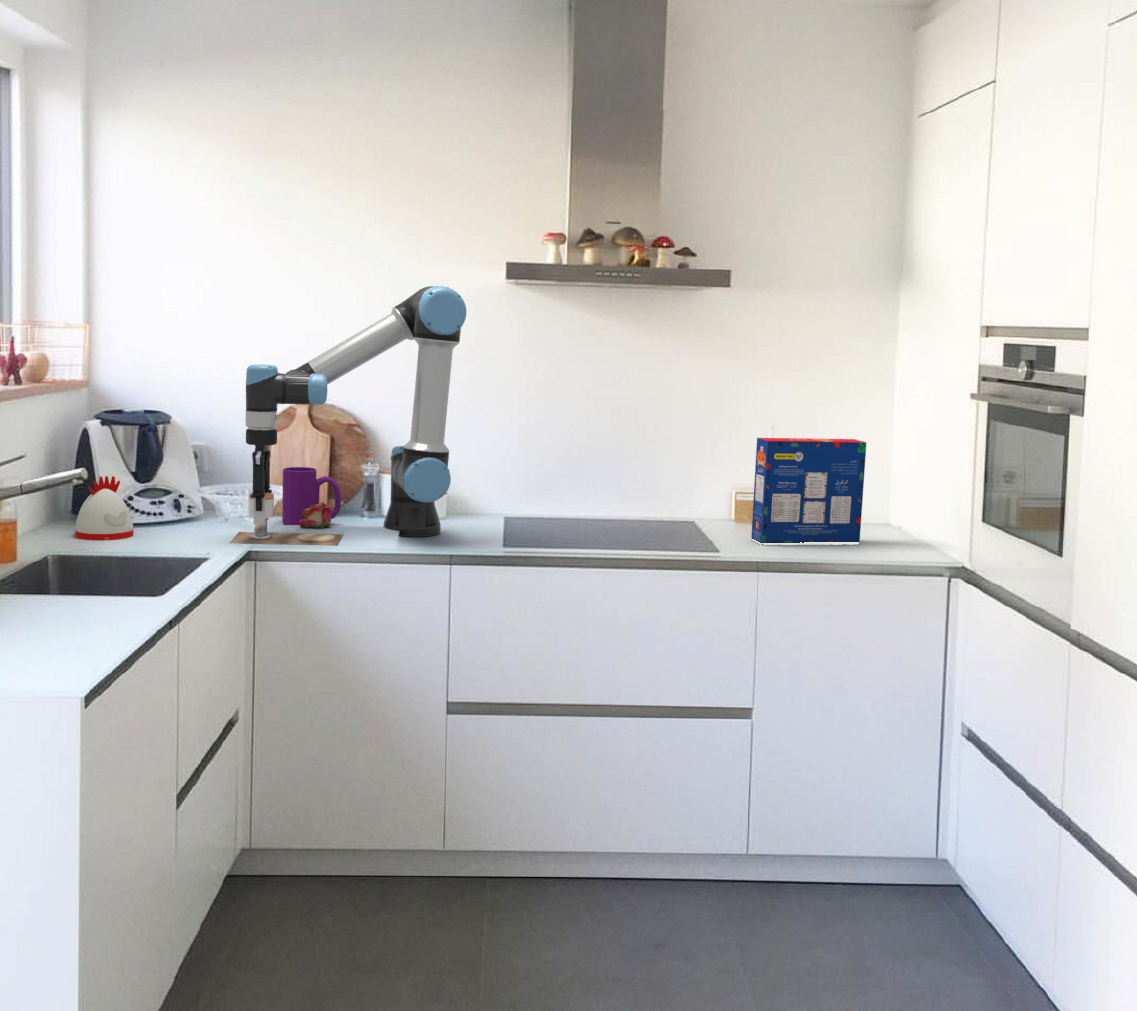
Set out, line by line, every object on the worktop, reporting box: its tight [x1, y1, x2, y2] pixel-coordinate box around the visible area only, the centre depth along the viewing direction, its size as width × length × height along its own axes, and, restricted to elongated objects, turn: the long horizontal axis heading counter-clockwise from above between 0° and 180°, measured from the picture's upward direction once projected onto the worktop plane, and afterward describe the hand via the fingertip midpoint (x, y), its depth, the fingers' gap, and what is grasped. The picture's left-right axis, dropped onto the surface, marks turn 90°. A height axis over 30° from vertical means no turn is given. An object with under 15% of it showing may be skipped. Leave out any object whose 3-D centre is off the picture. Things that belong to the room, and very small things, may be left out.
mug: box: [281, 466, 342, 526], centre depth 376 cm, size 9×16×15 cm, turn 97°
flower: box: [298, 502, 333, 529], centre depth 365 cm, size 10×9×8 cm
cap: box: [248, 492, 275, 519], centre depth 345 cm, size 6×6×6 cm
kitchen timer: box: [74, 475, 134, 541], centre depth 349 cm, size 14×14×15 cm
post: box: [251, 518, 271, 540], centre depth 345 cm, size 5×5×7 cm
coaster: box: [298, 533, 335, 542], centre depth 347 cm, size 9×9×1 cm
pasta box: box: [750, 437, 867, 543], centre depth 376 cm, size 28×8×28 cm, turn 103°
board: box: [229, 531, 344, 547], centre depth 347 cm, size 26×16×2 cm, turn 95°
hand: (261, 521), depth 345 cm, fingers closed on cap, 6 cm apart
